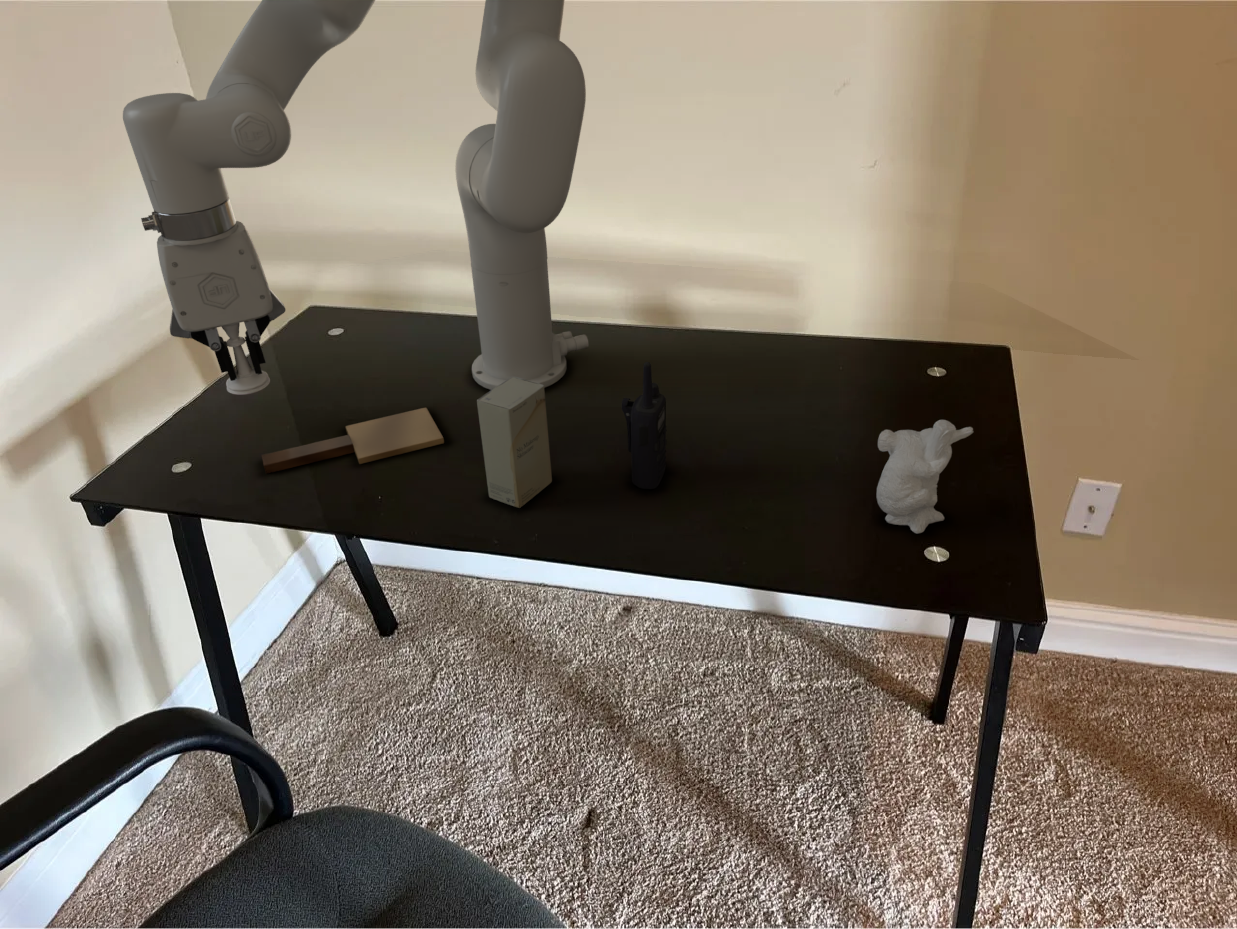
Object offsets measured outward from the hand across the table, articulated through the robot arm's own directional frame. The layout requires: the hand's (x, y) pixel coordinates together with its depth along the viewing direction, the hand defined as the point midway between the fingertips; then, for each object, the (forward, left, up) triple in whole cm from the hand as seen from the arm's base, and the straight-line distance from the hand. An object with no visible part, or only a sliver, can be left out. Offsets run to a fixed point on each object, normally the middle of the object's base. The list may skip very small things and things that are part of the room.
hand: (245, 371), depth 108 cm
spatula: (-9, +9, -8) cm, 15 cm away
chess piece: (0, 0, -2) cm, 2 cm away
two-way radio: (-37, +30, -8) cm, 49 cm away
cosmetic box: (-24, +26, -8) cm, 37 cm away
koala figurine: (-58, +49, -8) cm, 77 cm away
